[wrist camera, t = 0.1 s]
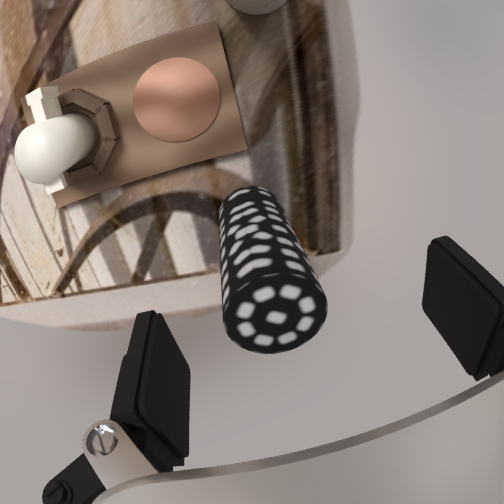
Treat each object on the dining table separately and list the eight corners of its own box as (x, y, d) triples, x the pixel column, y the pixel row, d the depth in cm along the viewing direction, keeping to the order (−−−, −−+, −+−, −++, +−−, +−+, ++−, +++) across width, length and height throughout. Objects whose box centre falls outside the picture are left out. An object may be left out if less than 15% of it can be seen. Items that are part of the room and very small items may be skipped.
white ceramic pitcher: (107, 159, 35) (76, 184, 27) (68, 174, 36) (31, 203, 27) (83, 78, 30) (43, 79, 21) (43, 97, 30) (-2, 107, 21)
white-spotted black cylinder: (292, 198, 42) (346, 287, 25) (267, 251, 45) (299, 360, 28) (231, 177, 40) (245, 259, 22) (210, 234, 43) (209, 343, 26)
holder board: (25, 98, 31) (12, 100, 28) (216, 23, 30) (216, 17, 27) (61, 204, 38) (51, 214, 36) (246, 147, 38) (249, 152, 35)
